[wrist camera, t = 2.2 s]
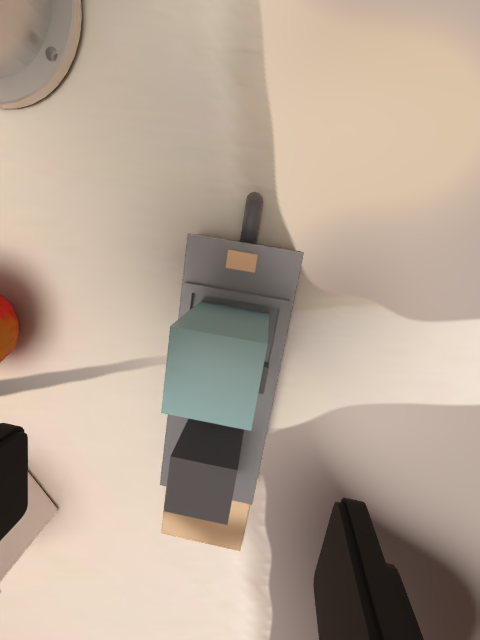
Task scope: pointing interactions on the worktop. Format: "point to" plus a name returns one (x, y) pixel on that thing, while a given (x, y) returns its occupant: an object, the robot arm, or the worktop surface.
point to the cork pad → (209, 527)
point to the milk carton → (26, 527)
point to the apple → (7, 328)
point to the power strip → (277, 299)
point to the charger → (216, 365)
